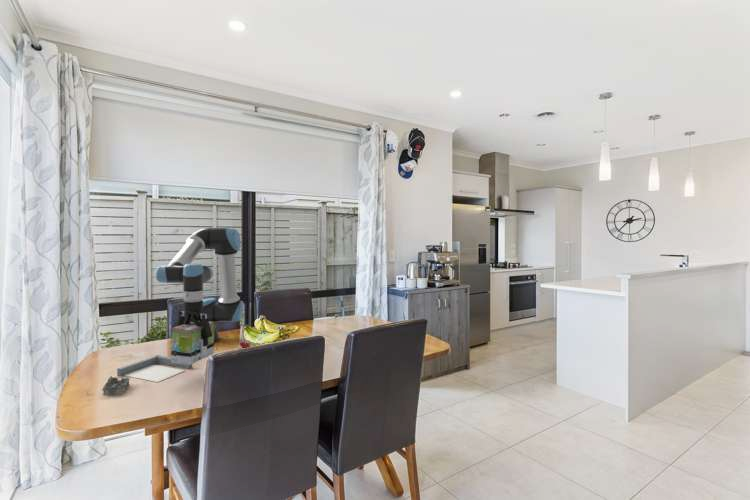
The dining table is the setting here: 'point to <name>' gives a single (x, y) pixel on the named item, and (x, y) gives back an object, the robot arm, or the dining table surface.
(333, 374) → the dining table surface
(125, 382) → the egg carton
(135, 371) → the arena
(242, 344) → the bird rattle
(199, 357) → the tea box
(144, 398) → the dining table surface
